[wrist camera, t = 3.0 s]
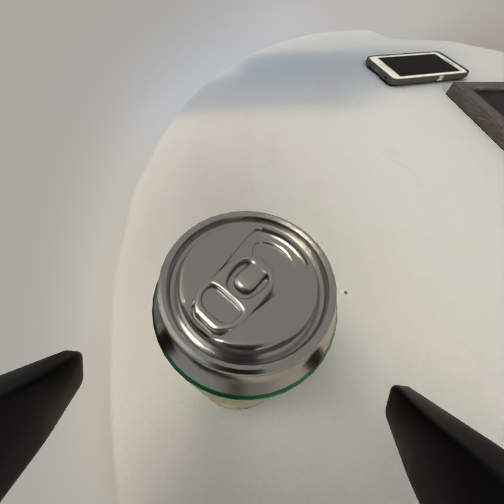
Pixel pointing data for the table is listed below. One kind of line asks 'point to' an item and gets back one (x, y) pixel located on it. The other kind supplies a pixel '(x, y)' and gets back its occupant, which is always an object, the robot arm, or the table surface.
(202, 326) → the soda can
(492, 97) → the picture frame
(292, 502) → the table surface
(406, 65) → the cell phone
